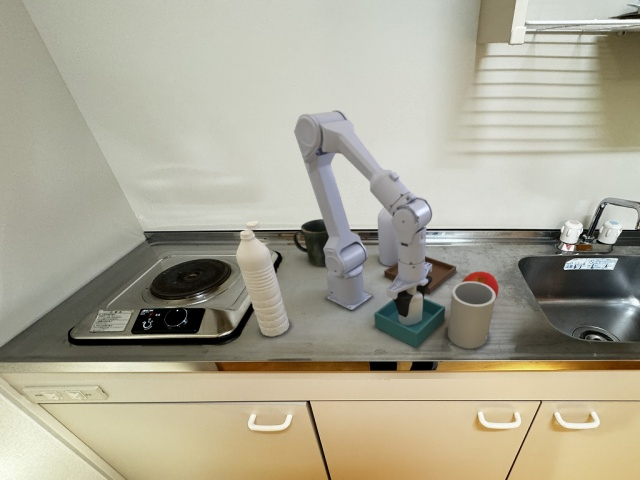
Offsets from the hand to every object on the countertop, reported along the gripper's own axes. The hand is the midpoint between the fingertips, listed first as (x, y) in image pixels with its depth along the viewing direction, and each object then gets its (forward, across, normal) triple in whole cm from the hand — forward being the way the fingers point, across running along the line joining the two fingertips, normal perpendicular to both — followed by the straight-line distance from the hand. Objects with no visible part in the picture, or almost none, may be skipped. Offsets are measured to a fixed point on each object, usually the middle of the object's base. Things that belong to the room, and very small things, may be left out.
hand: (410, 308), depth 75 cm
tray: (+5, +21, +11) cm, 24 cm away
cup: (+5, +5, -13) cm, 15 cm away
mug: (+5, +9, +43) cm, 44 cm away
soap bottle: (+5, +23, +24) cm, 34 cm away
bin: (+5, 0, 0) cm, 5 cm away
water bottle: (+5, -20, +26) cm, 33 cm away
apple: (+4, +16, -11) cm, 19 cm away
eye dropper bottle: (+4, 0, 0) cm, 4 cm away
